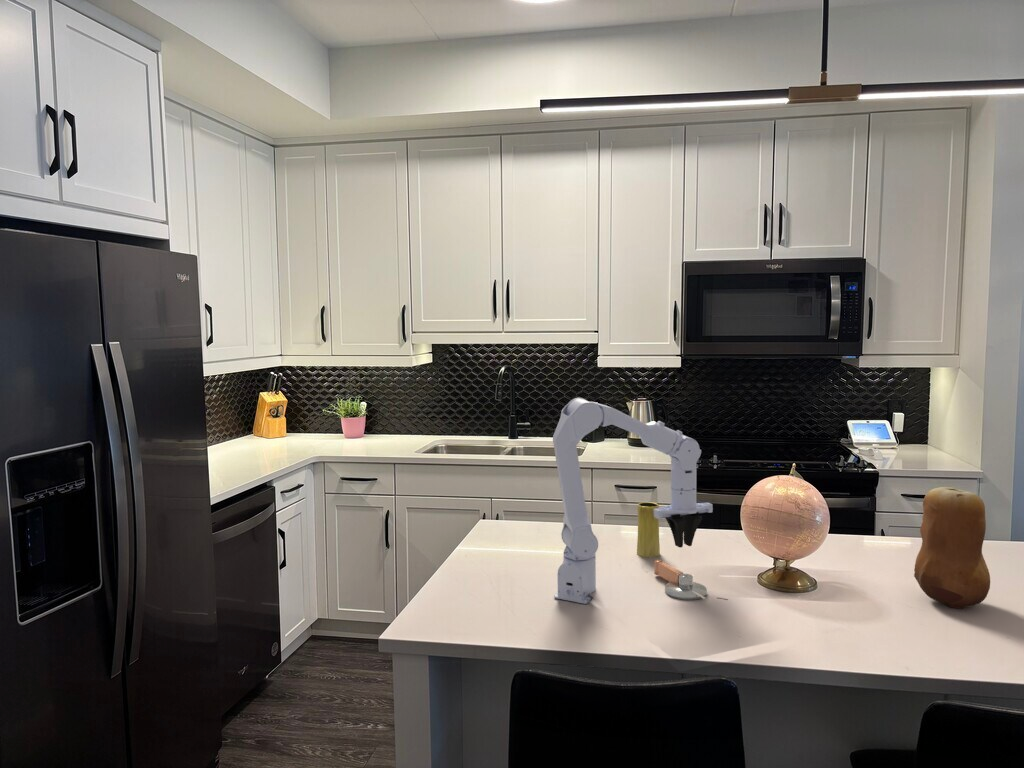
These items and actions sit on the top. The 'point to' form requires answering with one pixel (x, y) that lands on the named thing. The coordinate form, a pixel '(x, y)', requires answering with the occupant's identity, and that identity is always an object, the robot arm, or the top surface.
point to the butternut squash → (953, 548)
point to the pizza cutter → (679, 583)
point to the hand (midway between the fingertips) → (683, 545)
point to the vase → (648, 530)
